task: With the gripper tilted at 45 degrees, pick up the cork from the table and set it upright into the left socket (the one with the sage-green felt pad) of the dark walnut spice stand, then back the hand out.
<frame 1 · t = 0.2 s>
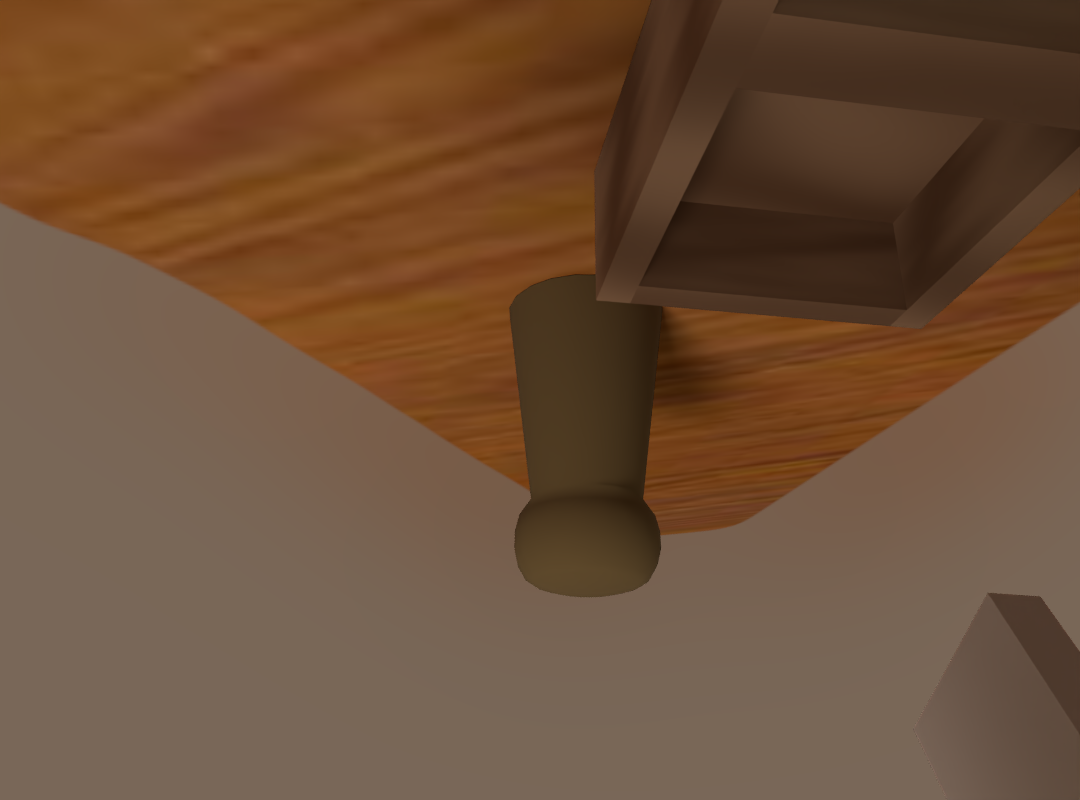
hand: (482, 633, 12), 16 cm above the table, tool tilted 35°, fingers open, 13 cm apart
cork: (585, 309, 37), on the table
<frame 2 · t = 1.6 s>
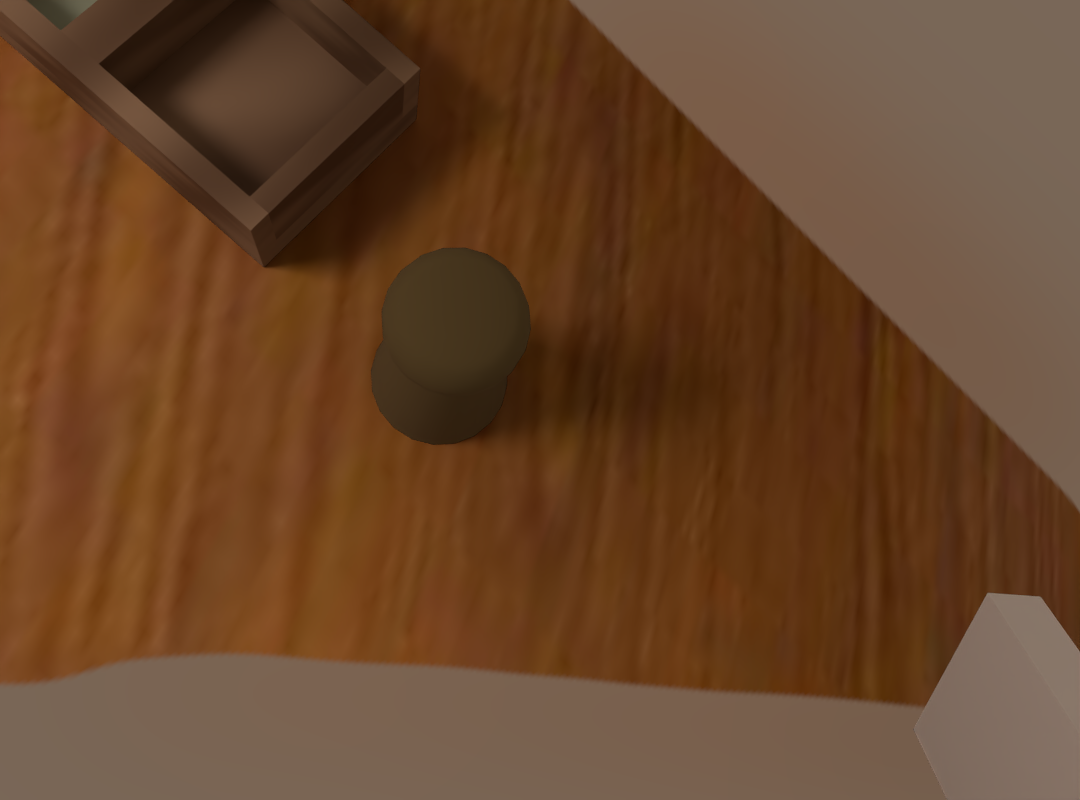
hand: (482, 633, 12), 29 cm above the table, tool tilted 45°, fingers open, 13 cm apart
spice stand: (176, 45, 43), on the table
cork: (439, 378, 42), on the table
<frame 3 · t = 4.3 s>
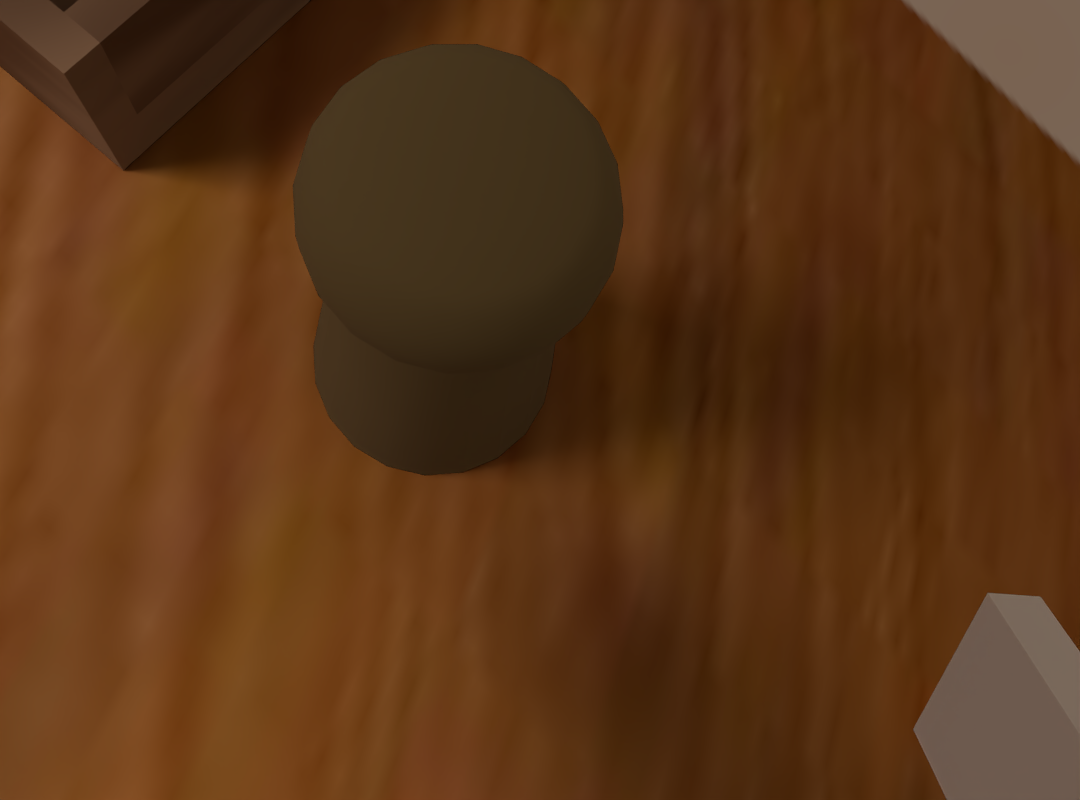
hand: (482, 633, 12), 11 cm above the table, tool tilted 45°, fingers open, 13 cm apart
cork: (434, 359, 24), on the table
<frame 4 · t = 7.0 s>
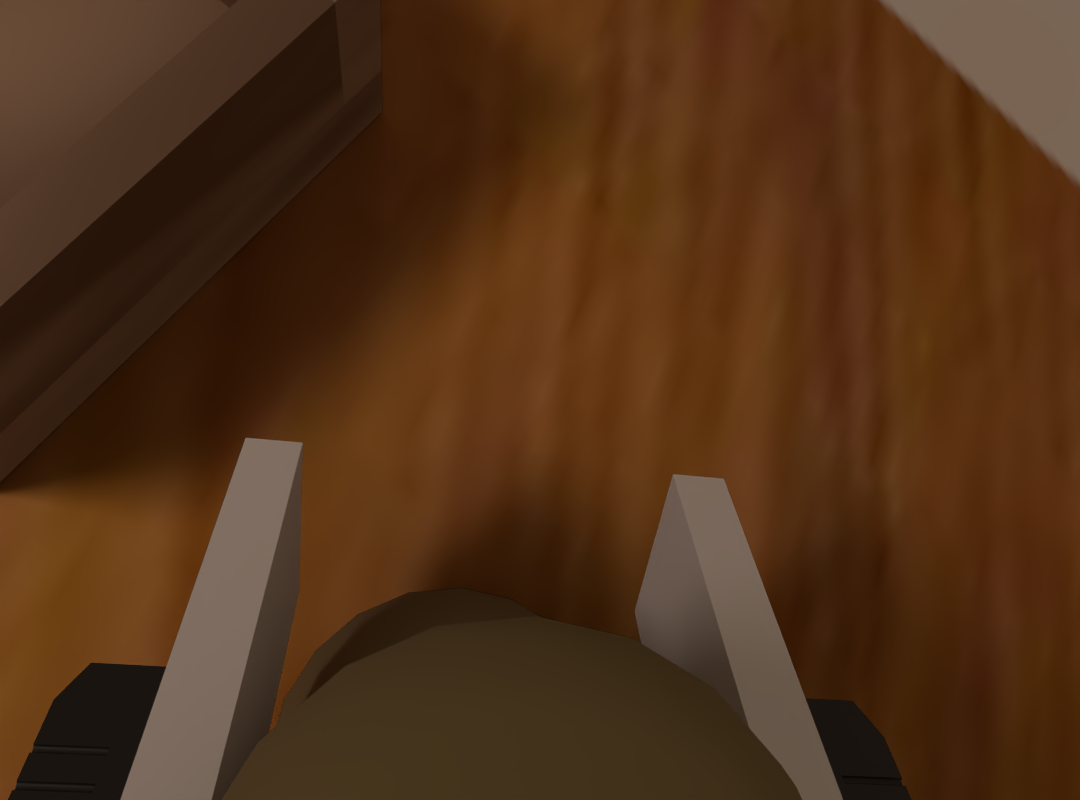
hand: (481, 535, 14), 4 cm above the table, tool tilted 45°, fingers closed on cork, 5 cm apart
cork: (446, 763, 17), on the table, touching gripper
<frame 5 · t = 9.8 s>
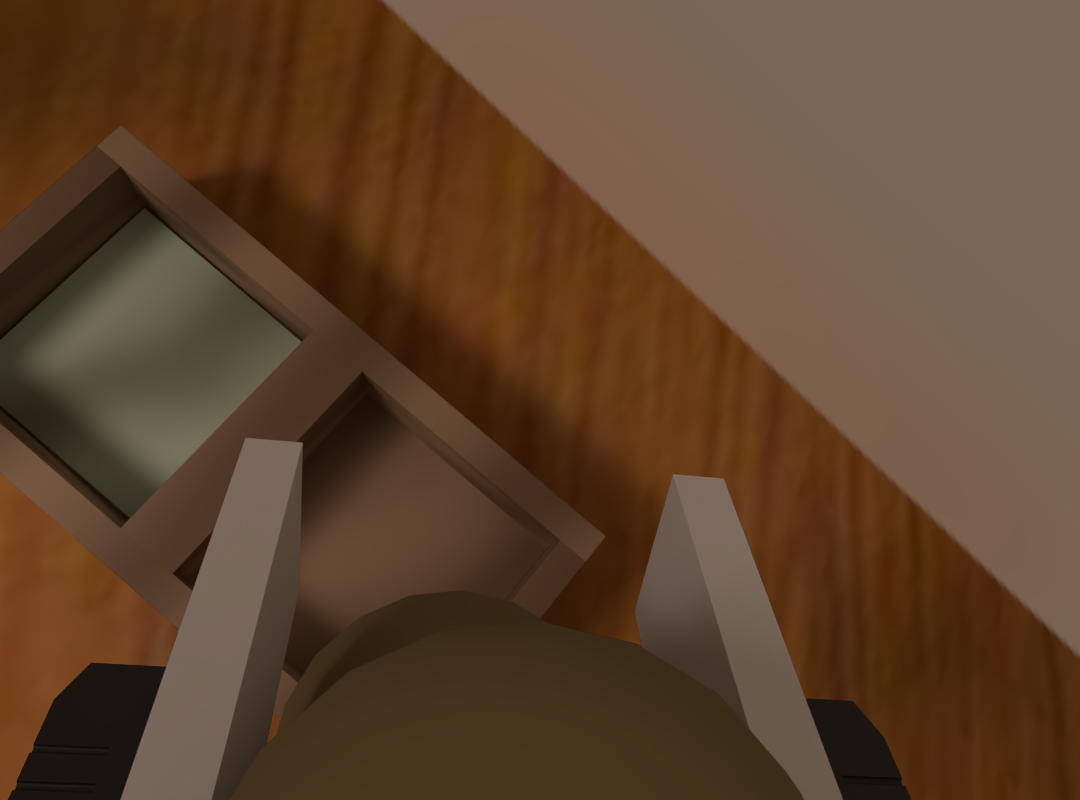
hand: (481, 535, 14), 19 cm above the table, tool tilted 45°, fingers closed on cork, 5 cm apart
spice stand: (266, 470, 33), on the table
cork: (448, 766, 17), point 16 cm above the table, touching gripper
when the fingers open (6 cm above the table, at t = 12.8 s): cork stays where it is, resting on spice stand.
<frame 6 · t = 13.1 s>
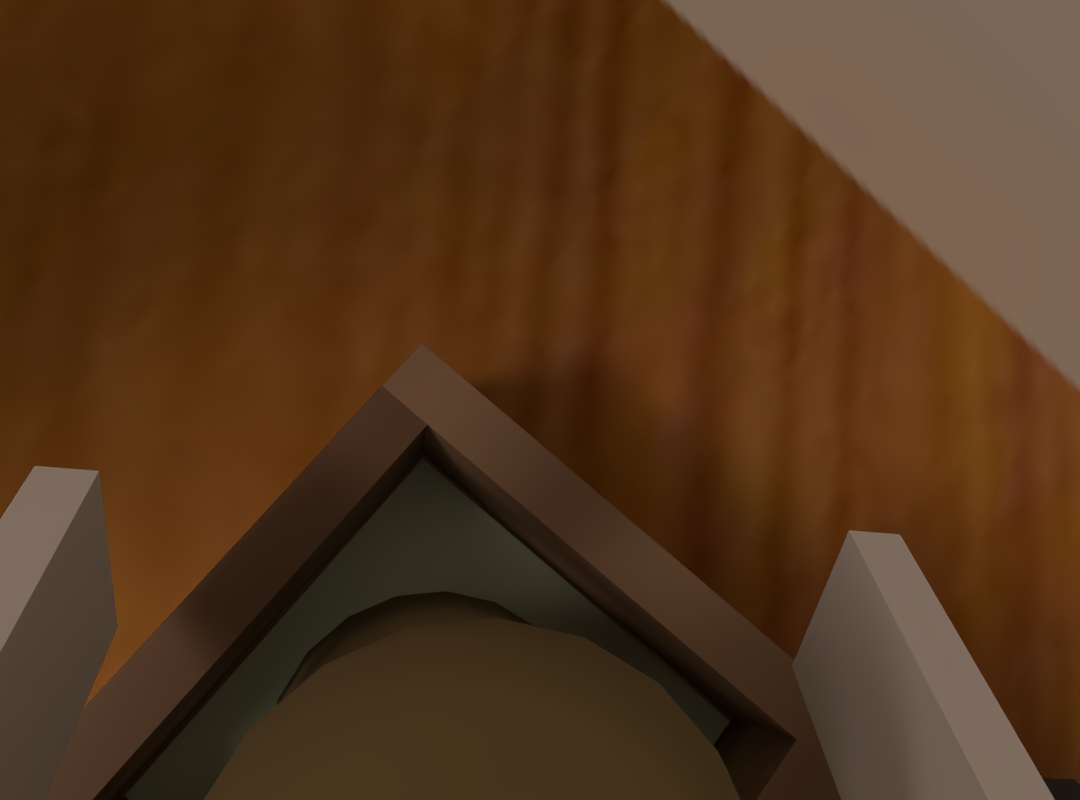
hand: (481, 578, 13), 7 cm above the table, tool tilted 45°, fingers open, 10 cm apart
cork: (432, 758, 17), point 2 cm above the table, touching spice stand
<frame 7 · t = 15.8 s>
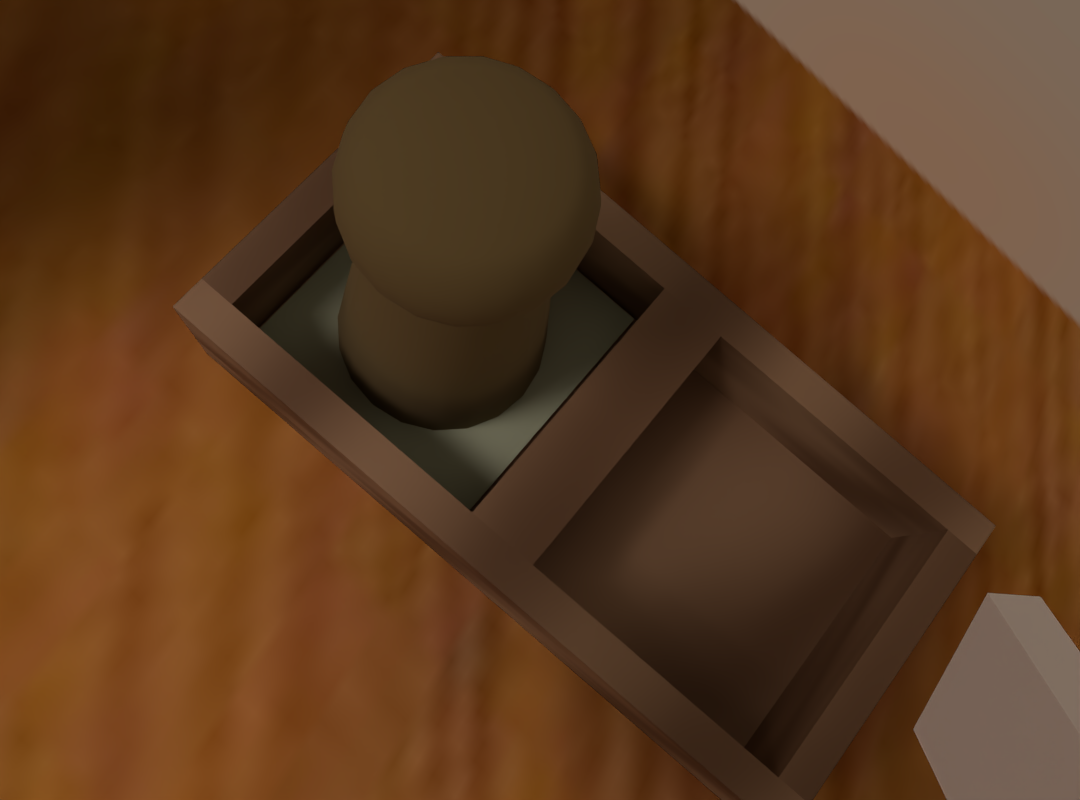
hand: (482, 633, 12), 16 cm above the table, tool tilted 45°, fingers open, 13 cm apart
spice stand: (570, 448, 29), on the table
cork: (443, 330, 28), point 2 cm above the table, touching spice stand
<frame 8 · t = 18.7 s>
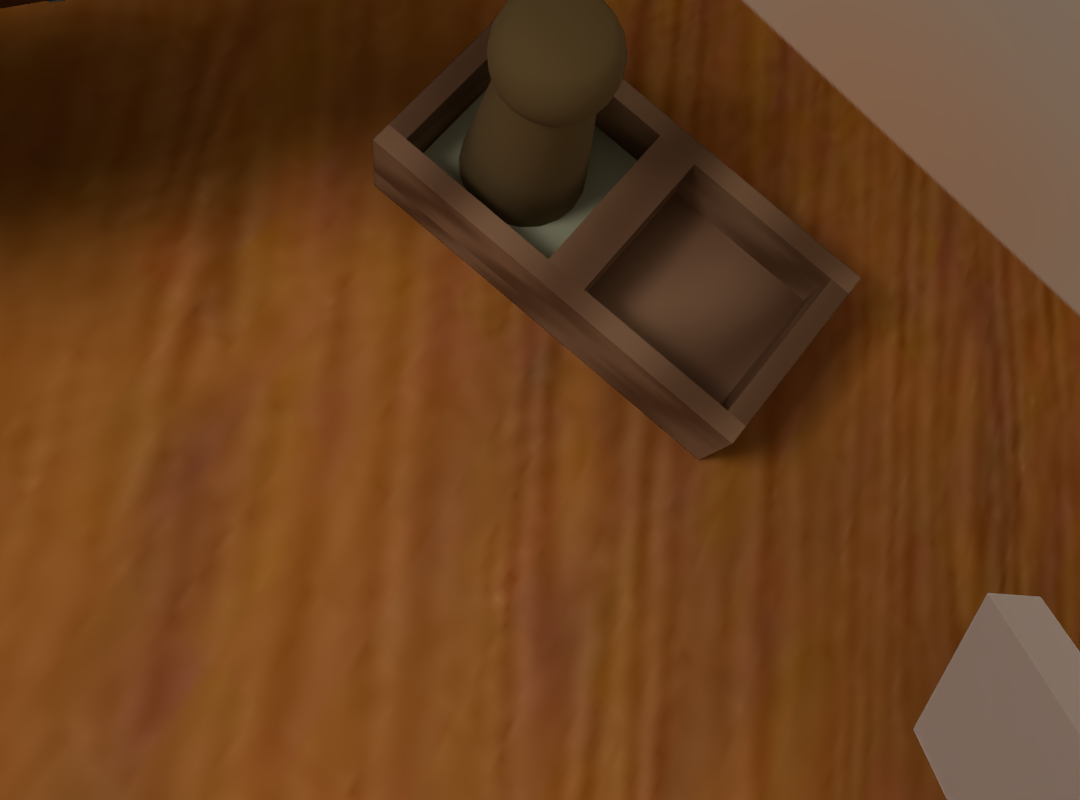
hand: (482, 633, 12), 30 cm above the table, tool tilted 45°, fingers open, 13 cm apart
spice stand: (601, 248, 46), on the table
cork: (522, 168, 44), point 2 cm above the table, touching spice stand
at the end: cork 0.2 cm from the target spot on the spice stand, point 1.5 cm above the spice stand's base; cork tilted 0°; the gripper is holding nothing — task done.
